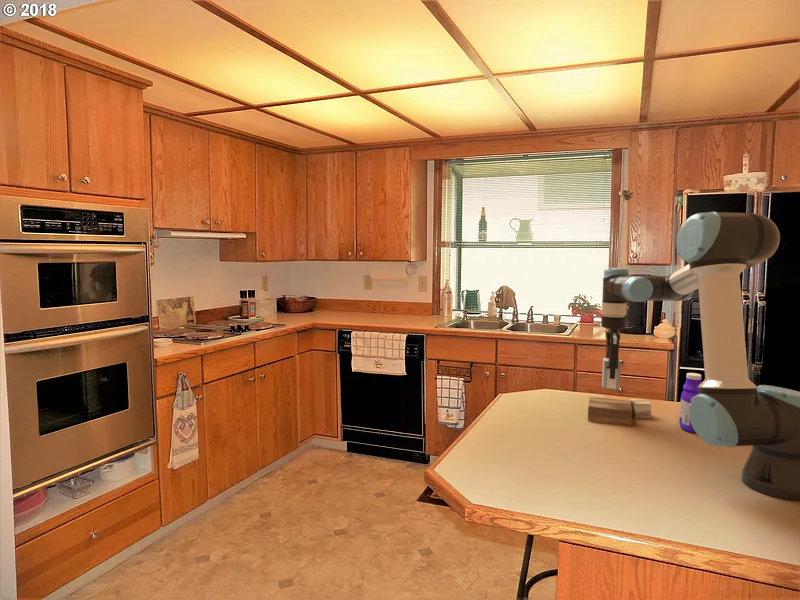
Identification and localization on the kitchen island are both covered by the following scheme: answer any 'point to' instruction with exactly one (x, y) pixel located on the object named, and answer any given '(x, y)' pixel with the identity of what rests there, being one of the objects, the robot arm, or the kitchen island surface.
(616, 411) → the walnut block
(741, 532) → the kitchen island surface
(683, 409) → the bottle
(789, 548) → the kitchen island surface
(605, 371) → the pale gray block
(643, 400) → the maple cube
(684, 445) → the kitchen island surface
